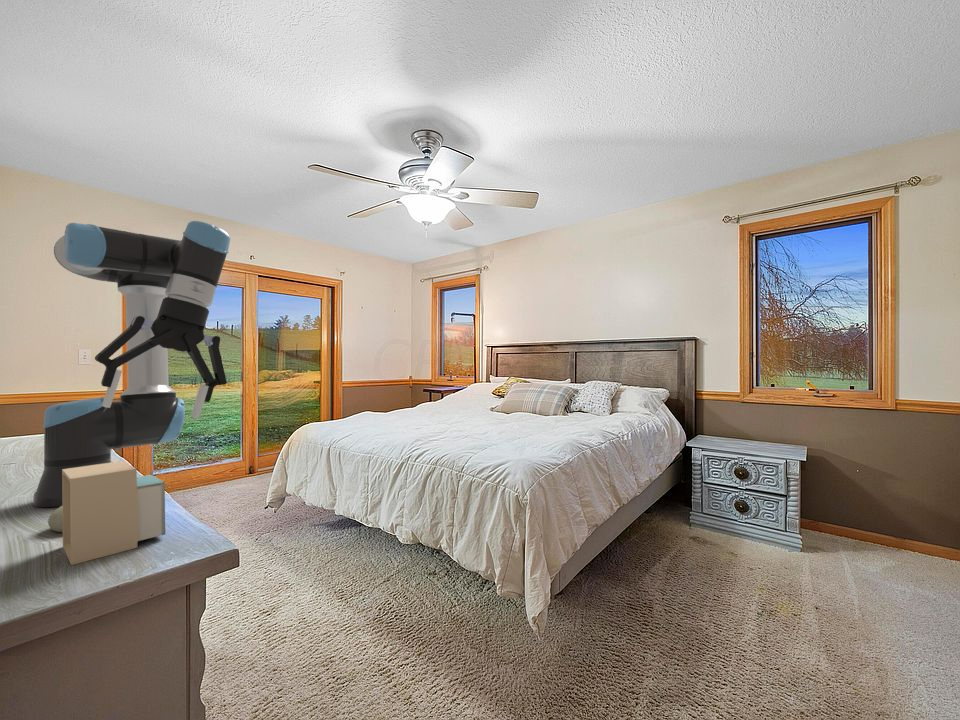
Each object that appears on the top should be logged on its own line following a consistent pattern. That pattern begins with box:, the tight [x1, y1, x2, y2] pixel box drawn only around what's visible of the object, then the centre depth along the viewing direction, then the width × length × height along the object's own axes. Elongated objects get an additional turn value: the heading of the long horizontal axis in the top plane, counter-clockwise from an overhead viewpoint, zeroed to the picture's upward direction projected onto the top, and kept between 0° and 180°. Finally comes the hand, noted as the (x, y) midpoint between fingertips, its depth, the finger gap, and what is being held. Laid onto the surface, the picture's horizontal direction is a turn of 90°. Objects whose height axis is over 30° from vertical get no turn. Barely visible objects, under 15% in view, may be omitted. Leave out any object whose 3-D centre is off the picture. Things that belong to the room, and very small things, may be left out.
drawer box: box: [137, 474, 166, 542], centre depth 74 cm, size 10×9×9 cm
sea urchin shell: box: [47, 506, 63, 533], centre depth 83 cm, size 9×8×8 cm
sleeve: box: [62, 460, 138, 566], centre depth 72 cm, size 8×11×13 cm
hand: (153, 412), depth 79 cm, fingers open, 13 cm apart
